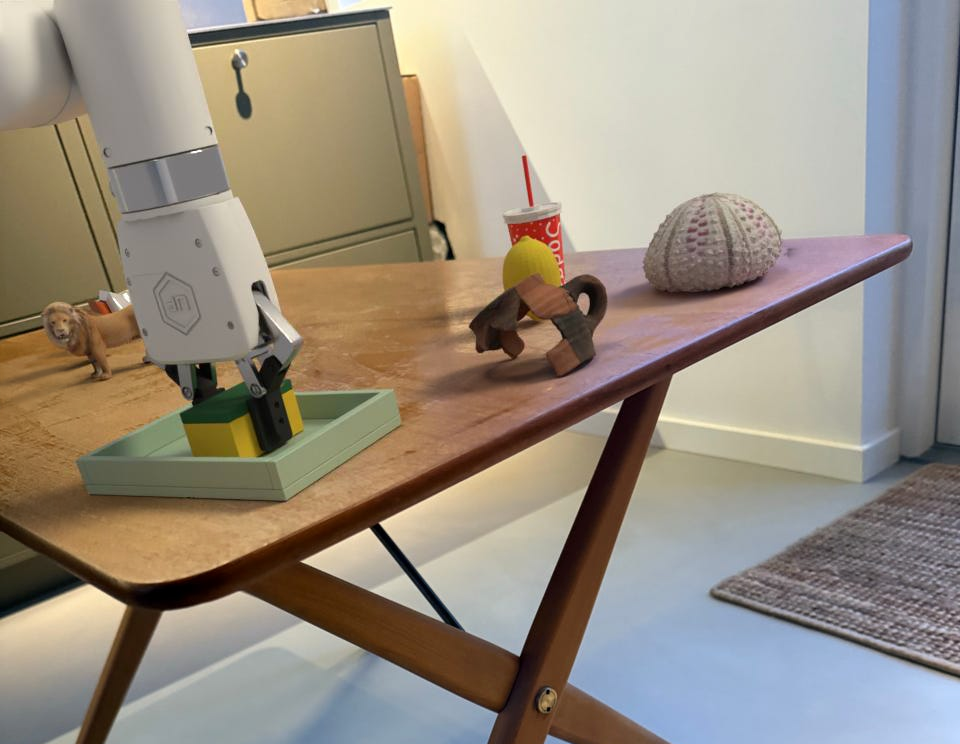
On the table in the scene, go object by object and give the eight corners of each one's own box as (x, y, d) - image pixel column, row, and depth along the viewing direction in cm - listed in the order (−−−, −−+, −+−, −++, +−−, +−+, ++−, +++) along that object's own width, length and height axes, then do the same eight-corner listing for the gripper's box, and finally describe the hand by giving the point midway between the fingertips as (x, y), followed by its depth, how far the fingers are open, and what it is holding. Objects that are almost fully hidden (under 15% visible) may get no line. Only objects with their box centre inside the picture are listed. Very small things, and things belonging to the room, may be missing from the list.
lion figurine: (73, 392, 113) (41, 309, 108) (61, 386, 117) (29, 306, 112) (197, 353, 119) (171, 273, 115) (180, 349, 123) (155, 271, 119)
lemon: (536, 313, 104) (523, 230, 100) (577, 314, 100) (566, 227, 96) (498, 329, 101) (484, 244, 97) (539, 330, 97) (526, 242, 93)
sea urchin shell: (736, 299, 93) (730, 206, 89) (617, 300, 102) (607, 215, 99) (809, 263, 101) (806, 175, 97) (691, 266, 110) (685, 186, 106)
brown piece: (538, 395, 80) (476, 306, 79) (503, 424, 89) (447, 344, 88) (650, 315, 83) (592, 228, 82) (605, 351, 92) (552, 273, 91)
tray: (88, 494, 78) (74, 459, 77) (215, 426, 89) (205, 395, 87) (286, 501, 68) (274, 461, 67) (402, 424, 79) (394, 388, 77)
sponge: (196, 465, 76) (178, 413, 74) (259, 429, 82) (245, 380, 80) (242, 466, 74) (225, 412, 72) (304, 429, 79) (290, 378, 77)
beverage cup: (537, 307, 106) (514, 161, 100) (506, 303, 111) (482, 163, 105) (585, 292, 109) (566, 147, 102) (553, 288, 113) (533, 150, 107)
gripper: (46, 212, 71) (137, 463, 79) (229, 180, 62) (308, 465, 71) (125, 191, 76) (202, 428, 85) (303, 159, 67) (368, 426, 76)
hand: (249, 442), depth 78 cm, fingers closed on sponge, 4 cm apart
